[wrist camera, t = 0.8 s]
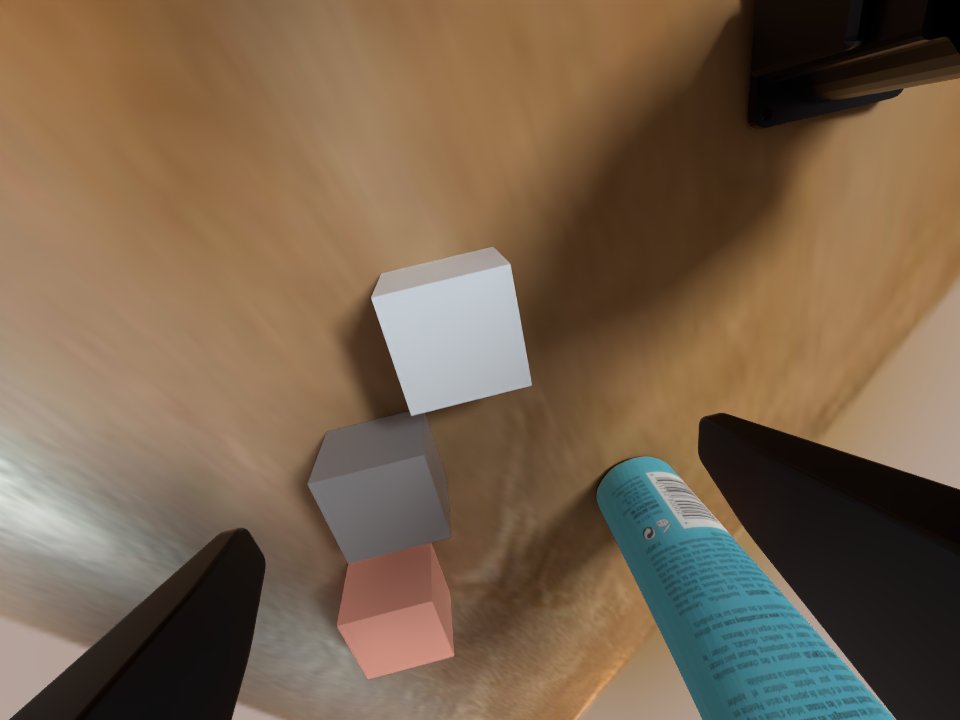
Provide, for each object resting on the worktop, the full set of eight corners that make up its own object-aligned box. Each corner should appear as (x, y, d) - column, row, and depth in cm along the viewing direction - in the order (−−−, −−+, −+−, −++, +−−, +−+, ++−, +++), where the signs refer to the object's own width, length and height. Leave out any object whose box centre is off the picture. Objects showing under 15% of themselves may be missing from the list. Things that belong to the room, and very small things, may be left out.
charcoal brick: (423, 406, 21) (424, 454, 17) (446, 480, 23) (451, 537, 19) (327, 430, 21) (307, 484, 17) (359, 502, 23) (348, 564, 19)
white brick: (492, 246, 18) (510, 263, 14) (512, 347, 20) (532, 385, 16) (381, 272, 18) (370, 297, 14) (413, 372, 20) (411, 415, 16)
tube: (577, 527, 26) (906, 1274, 8) (573, 467, 23) (1002, 1295, 6) (690, 503, 26) (1232, 1165, 9) (696, 442, 24) (1425, 1150, 7)
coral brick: (430, 538, 25) (431, 601, 21) (449, 591, 27) (454, 656, 23) (349, 559, 24) (336, 625, 21) (375, 610, 27) (367, 679, 23)
